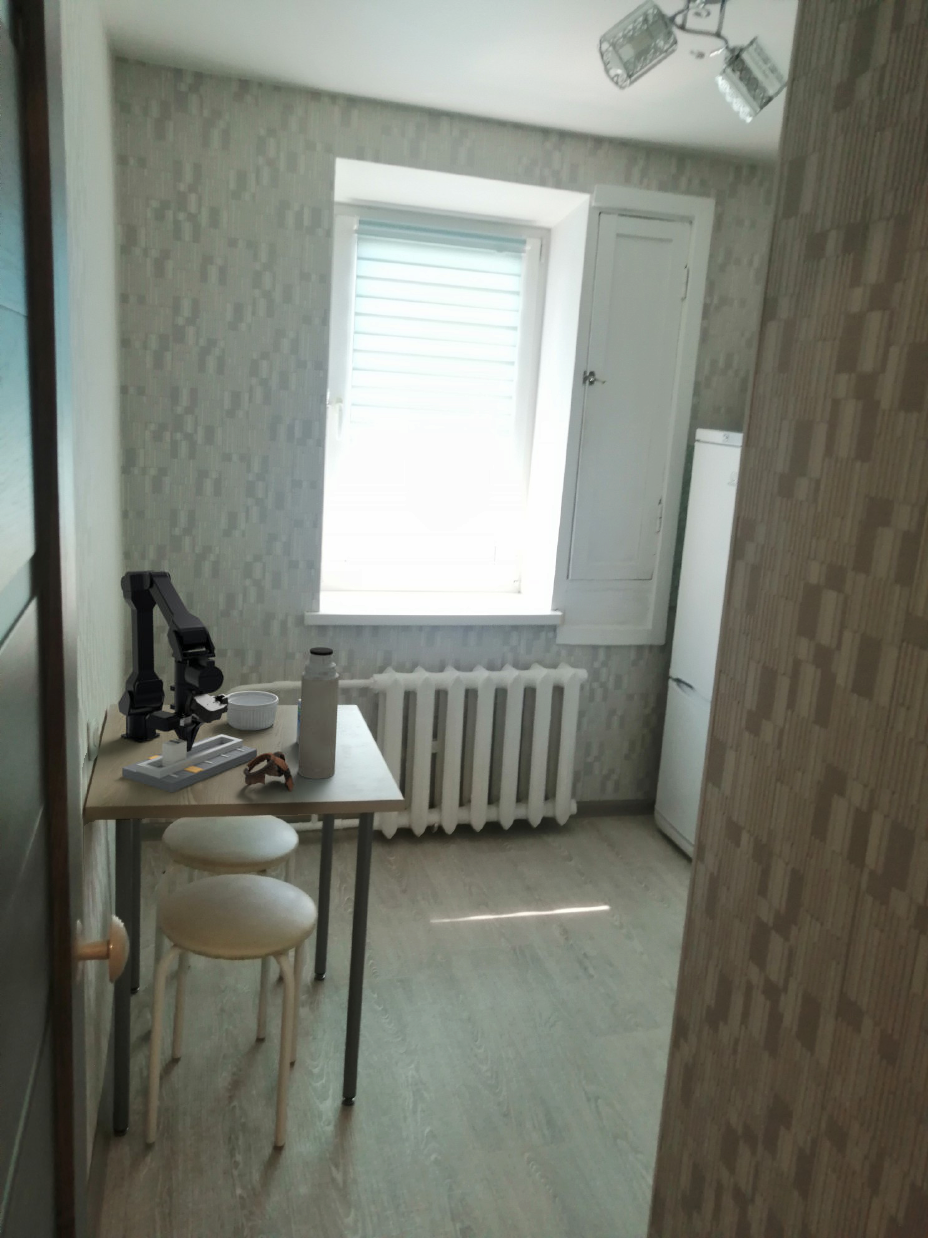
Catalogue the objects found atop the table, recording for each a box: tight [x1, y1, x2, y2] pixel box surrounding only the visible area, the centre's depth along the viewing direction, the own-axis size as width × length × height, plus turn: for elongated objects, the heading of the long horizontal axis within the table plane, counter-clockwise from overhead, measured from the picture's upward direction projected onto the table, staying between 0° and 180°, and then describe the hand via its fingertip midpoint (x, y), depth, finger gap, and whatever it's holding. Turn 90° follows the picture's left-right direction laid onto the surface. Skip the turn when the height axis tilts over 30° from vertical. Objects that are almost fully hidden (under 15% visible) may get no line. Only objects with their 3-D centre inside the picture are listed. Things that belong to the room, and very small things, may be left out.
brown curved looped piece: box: [242, 751, 295, 792], centre depth 193 cm, size 12×10×8 cm
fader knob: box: [161, 737, 187, 766], centre depth 195 cm, size 3×4×5 cm
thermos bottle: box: [297, 646, 340, 780], centre depth 200 cm, size 8×8×28 cm
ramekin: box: [226, 690, 279, 731], centre depth 231 cm, size 13×13×7 cm
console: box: [121, 733, 258, 793], centre depth 200 cm, size 14×26×4 cm, turn 152°
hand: (187, 751), depth 198 cm, fingers closed
